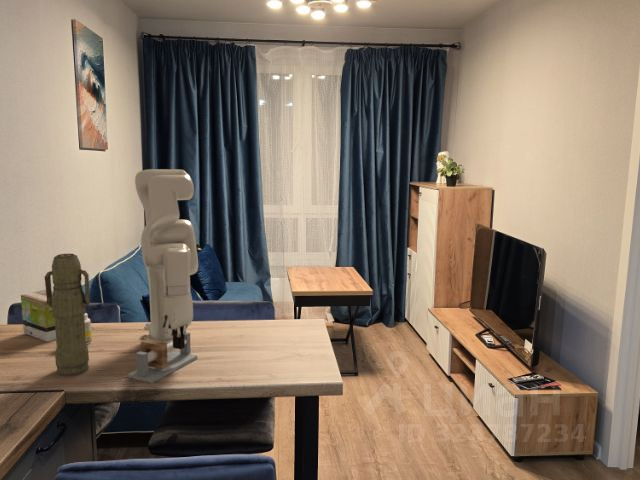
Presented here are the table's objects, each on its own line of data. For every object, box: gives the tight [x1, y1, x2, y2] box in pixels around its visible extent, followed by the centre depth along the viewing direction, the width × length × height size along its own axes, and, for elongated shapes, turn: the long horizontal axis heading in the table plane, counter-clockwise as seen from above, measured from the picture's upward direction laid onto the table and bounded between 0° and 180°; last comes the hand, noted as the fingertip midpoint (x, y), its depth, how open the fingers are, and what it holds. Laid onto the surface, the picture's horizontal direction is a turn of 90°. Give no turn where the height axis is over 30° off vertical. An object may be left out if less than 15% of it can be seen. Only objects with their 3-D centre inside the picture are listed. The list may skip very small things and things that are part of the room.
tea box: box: [20, 289, 56, 343], centre depth 186 cm, size 15×10×15 cm, turn 58°
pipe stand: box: [127, 331, 198, 384], centre depth 159 cm, size 9×21×8 cm, turn 156°
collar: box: [140, 338, 168, 369], centre depth 155 cm, size 8×2×7 cm, turn 66°
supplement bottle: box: [84, 312, 92, 345], centre depth 179 cm, size 6×6×10 cm
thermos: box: [44, 253, 91, 377], centre depth 154 cm, size 9×12×35 cm
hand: (178, 347), depth 160 cm, fingers closed
